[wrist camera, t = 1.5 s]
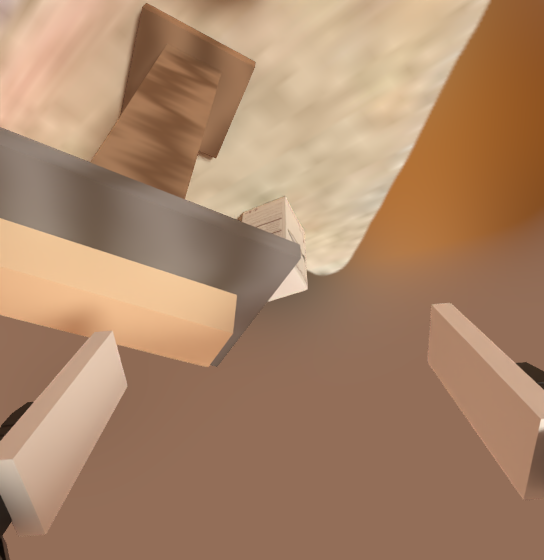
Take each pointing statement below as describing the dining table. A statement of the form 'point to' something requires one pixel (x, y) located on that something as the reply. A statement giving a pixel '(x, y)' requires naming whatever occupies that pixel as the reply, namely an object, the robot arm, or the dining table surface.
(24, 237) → the tan rectangular bar
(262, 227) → the supplement box
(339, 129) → the dining table surface
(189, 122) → the shelf stand
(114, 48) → the dining table surface
